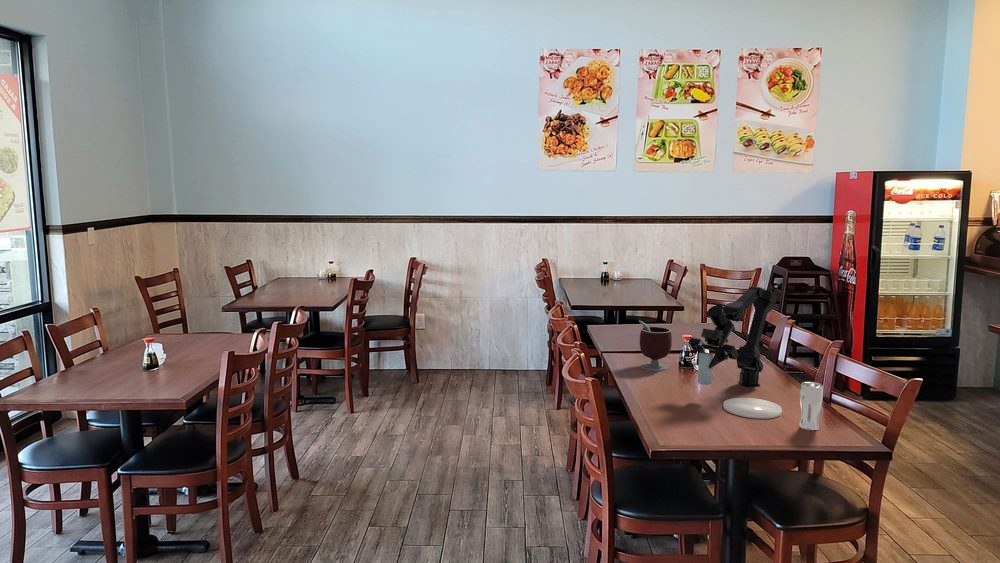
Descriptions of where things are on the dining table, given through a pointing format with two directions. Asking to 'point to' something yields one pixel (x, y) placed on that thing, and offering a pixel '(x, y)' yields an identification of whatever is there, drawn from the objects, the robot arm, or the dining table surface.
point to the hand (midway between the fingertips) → (703, 366)
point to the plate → (752, 408)
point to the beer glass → (810, 405)
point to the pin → (705, 368)
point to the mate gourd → (655, 346)
